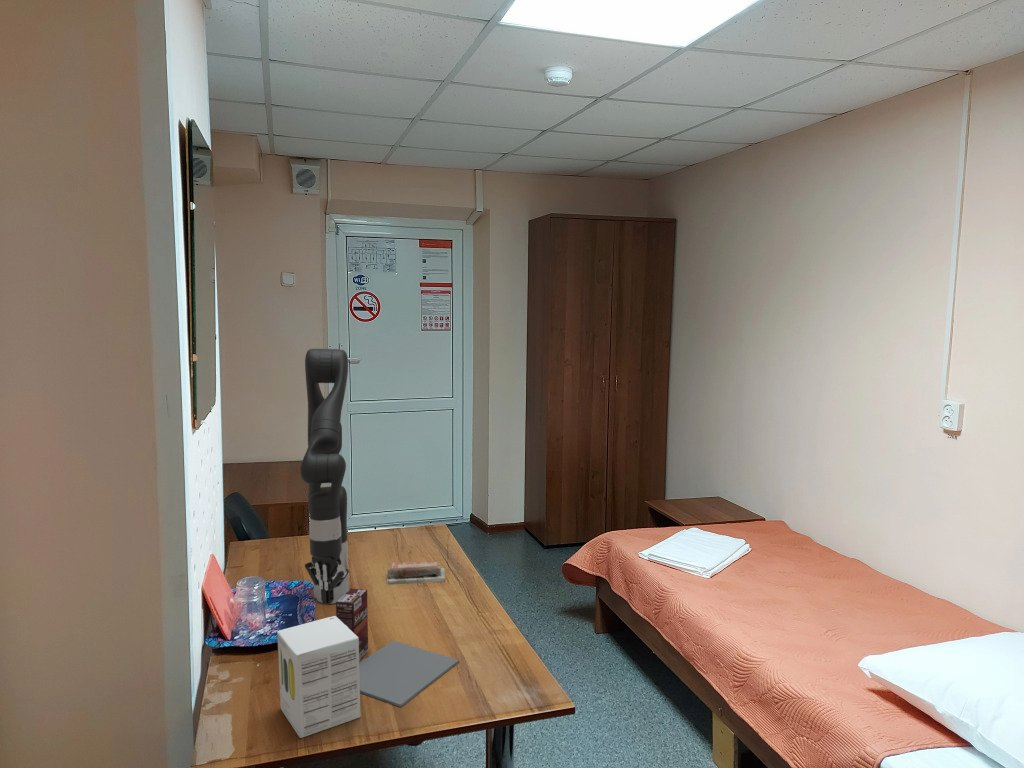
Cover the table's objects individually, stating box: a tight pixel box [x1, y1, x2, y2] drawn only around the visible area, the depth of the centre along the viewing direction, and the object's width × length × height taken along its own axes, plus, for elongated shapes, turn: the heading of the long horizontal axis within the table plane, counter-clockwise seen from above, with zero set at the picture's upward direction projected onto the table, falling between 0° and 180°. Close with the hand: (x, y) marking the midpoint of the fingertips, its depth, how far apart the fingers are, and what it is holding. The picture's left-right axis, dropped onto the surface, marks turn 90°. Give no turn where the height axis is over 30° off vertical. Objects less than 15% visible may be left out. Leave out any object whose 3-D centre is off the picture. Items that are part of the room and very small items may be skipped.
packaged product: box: [386, 561, 446, 585], centre depth 222 cm, size 18×5×10 cm
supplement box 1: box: [276, 615, 362, 739], centre depth 146 cm, size 13×13×18 cm
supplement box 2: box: [335, 588, 369, 662], centre depth 170 cm, size 9×5×16 cm, turn 168°
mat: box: [359, 640, 460, 708], centre depth 164 cm, size 20×22×1 cm
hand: (327, 602), depth 173 cm, fingers closed
